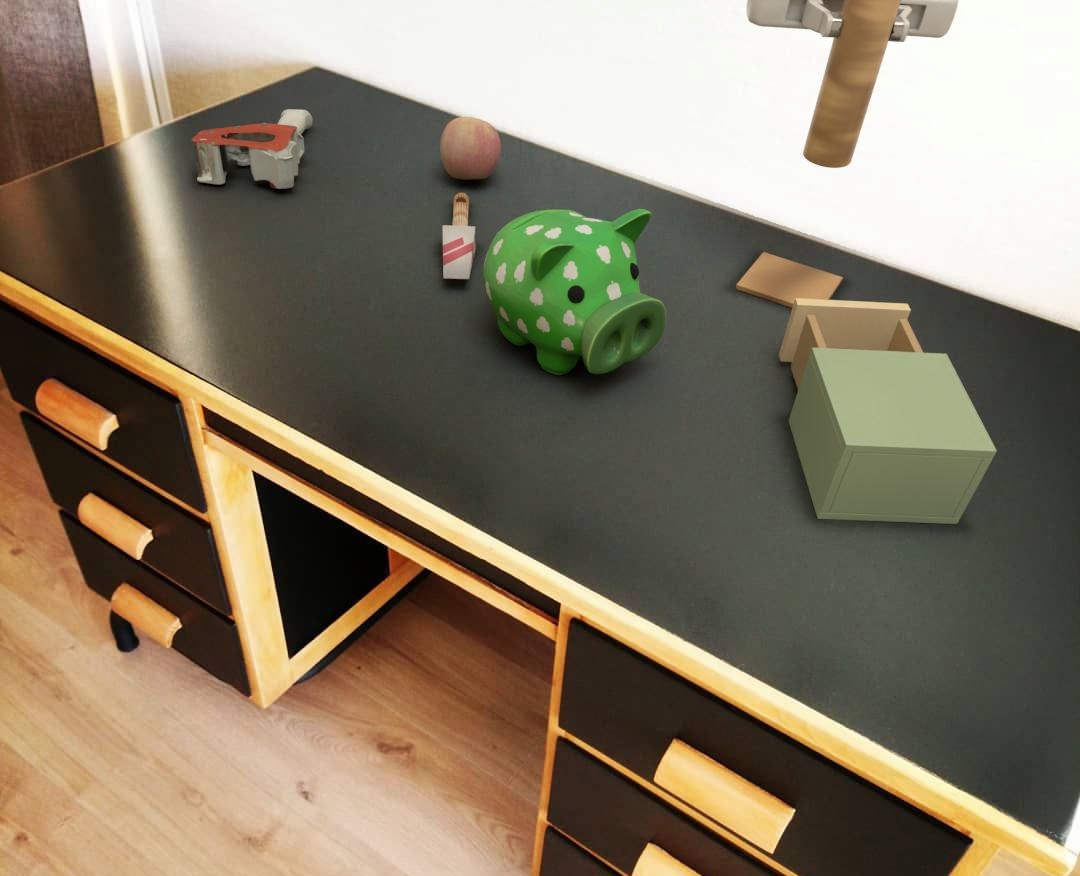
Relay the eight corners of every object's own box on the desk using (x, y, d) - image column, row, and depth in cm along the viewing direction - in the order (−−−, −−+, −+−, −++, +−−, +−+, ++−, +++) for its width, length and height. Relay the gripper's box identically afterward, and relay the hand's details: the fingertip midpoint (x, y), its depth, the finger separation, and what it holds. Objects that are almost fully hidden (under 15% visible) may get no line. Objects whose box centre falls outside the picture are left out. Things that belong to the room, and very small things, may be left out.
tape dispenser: (306, 135, 132) (169, 160, 122) (302, 95, 129) (161, 118, 118) (374, 178, 123) (232, 209, 112) (373, 136, 119) (226, 164, 109)
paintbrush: (437, 265, 102) (446, 187, 116) (438, 288, 103) (447, 209, 118) (473, 266, 102) (477, 189, 116) (473, 289, 104) (477, 210, 118)
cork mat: (841, 281, 110) (843, 277, 110) (818, 316, 105) (819, 312, 104) (762, 256, 113) (763, 251, 113) (735, 289, 108) (736, 284, 107)
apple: (510, 188, 122) (512, 126, 116) (457, 199, 119) (457, 136, 113) (482, 163, 126) (483, 102, 120) (431, 172, 123) (429, 110, 118)
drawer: (776, 348, 99) (792, 291, 94) (882, 353, 99) (904, 296, 94) (802, 432, 89) (822, 373, 84) (919, 437, 90) (946, 379, 85)
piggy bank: (566, 417, 90) (580, 278, 79) (455, 328, 99) (455, 192, 88) (671, 366, 97) (697, 232, 86) (558, 287, 106) (569, 157, 95)
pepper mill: (856, 155, 98) (930, -80, 83) (842, 172, 95) (916, -68, 80) (811, 142, 100) (875, -91, 84) (796, 159, 97) (859, -80, 81)
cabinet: (788, 420, 92) (811, 347, 85) (914, 425, 92) (946, 353, 86) (817, 519, 82) (846, 444, 76) (957, 524, 83) (997, 451, 77)
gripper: (742, -59, 95) (765, -14, 85) (940, -45, 96) (985, 0, 86) (729, 10, 99) (750, 59, 90) (918, 22, 100) (958, 72, 91)
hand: (867, 30), depth 88 cm, fingers closed on pepper mill, 5 cm apart
